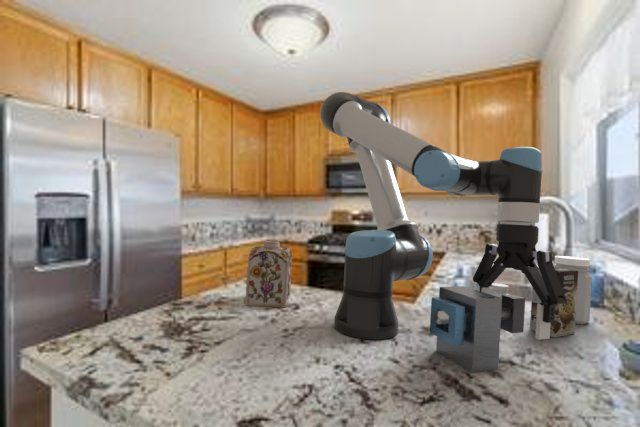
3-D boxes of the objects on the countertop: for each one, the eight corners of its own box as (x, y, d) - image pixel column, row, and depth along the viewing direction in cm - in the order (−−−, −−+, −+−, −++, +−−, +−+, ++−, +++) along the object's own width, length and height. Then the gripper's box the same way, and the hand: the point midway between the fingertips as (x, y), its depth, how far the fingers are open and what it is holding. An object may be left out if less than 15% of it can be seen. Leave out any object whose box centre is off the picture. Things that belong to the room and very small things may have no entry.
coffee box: (555, 338, 84) (559, 271, 84) (528, 329, 90) (532, 266, 90) (576, 334, 88) (579, 270, 88) (549, 325, 94) (552, 266, 94)
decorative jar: (286, 308, 97) (289, 244, 97) (244, 306, 98) (247, 241, 97) (290, 298, 109) (293, 240, 109) (253, 295, 109) (256, 238, 109)
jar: (552, 321, 98) (556, 257, 98) (545, 312, 107) (548, 254, 107) (595, 327, 95) (598, 261, 94) (583, 318, 104) (586, 257, 104)
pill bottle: (511, 325, 93) (513, 287, 93) (488, 322, 94) (490, 285, 94) (504, 319, 98) (506, 283, 98) (483, 316, 99) (485, 281, 99)
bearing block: (472, 372, 63) (476, 299, 63) (436, 350, 72) (439, 286, 72) (498, 369, 65) (502, 298, 65) (459, 348, 74) (463, 286, 74)
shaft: (442, 339, 65) (444, 301, 65) (432, 333, 67) (434, 297, 67) (523, 332, 71) (525, 298, 71) (510, 327, 74) (512, 294, 74)
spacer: (454, 345, 63) (456, 307, 63) (429, 332, 70) (431, 297, 70) (463, 344, 64) (465, 306, 64) (438, 331, 70) (439, 297, 70)
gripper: (594, 228, 62) (588, 348, 62) (484, 221, 85) (480, 308, 85) (564, 226, 59) (557, 351, 59) (459, 220, 83) (454, 310, 83)
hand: (511, 326), depth 72 cm, fingers open, 13 cm apart
